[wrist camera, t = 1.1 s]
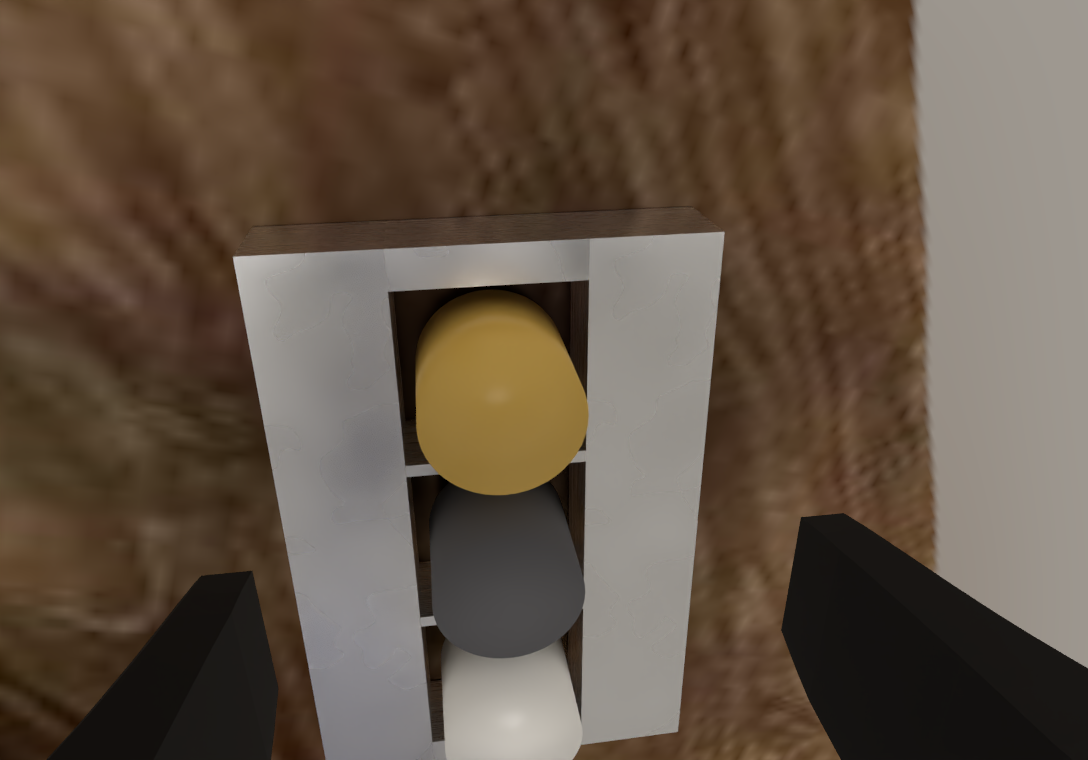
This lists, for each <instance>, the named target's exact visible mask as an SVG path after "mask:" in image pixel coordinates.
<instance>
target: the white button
mask: <svg viewBox="0 0 1088 760" xmlns="http://www.w3.org/2000/svg"><path fill="white" fill-rule="evenodd" d="M441 674H442V695H443V716H444V737H445V753H446V758H447V760H572V759H573V758H574V757H575V755H576V754H577V752H578V750H579V748H580V745H581V741H582V735H583V732H582V725H581V720H580V716H579V712H578V708H577V703H576V699H575V695H574V690H573V686H572V682H571V678H570V673H569V669H568V665H567V661H566V656H565V652H564V648H563V643H562V639H561V638H559V639H558V640H557V641H555V642H554V643H552V644H551V645H549V646H547V647H545V648H543V649H541V650H539V651H536V652H534V653H531V654H528V655H524V656H519V657H513V658H488V657H482V656H478V655H474V654H471V653H468V652H466V651H464V650H462V649H460V648H458V647H457V646H455V645H454V644H452V643H451V642H450V641H449V640H448V639H447V638H446V639H445V641H444V643H443V646H442V650H441Z"/></svg>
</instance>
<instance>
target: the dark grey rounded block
mask: <svg viewBox="0 0 1088 760" xmlns="http://www.w3.org/2000/svg"><path fill="white" fill-rule="evenodd" d="M429 531H430V558H431V584H432V609H433V615H434V619H435V621H436V624H437V626H438V628H439V629H440V631H441V632H442V634H443V635H444V636H445V637H446V638H447V639H448V640H449V641H450V642H451V643H452V644H454V645H455V646H457V647H458V648H460V649H462V650H464V651H466V652H468V653H471V654H474V655H478V656H482V657H488V658H513V657H519V656H524V655H528V654H531V653H534V652H536V651H539V650H541V649H543V648H545V647H547V646H549V645H551V644H552V643H554V642H555V641H557V640H558V639H559V638H561V637H562V636H563V635H564V634H565V633H566V632H567V631H568V630H569V629H570V628H571V627H572V626H573V624H574V623H575V622H576V620H577V618H578V617H579V615H580V612H581V610H582V608H583V604H584V600H585V583H584V579H583V575H582V572H581V568H580V565H579V562H578V558H577V555H576V551H575V548H574V545H573V541H572V538H571V534H570V531H569V528H568V524H567V521H566V518H565V514H564V511H563V507H562V504H561V501H560V498H559V496H558V493H557V492H556V490H555V488H554V487H553V486H552V485H551V483H550V482H549V481H548V482H546V483H544V484H542V485H540V486H538V487H535V488H533V489H530V490H528V491H524V492H520V493H516V494H509V495H485V494H480V493H474V492H471V491H468V490H465V489H462V488H460V487H458V486H456V485H454V484H452V483H451V482H449V483H448V484H447V485H446V486H445V487H444V488H443V489H442V490H441V492H440V493H439V495H438V496H437V497H436V499H435V501H434V503H433V506H432V509H431V512H430V518H429Z"/></svg>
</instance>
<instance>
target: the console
mask: <svg viewBox="0 0 1088 760" xmlns="http://www.w3.org/2000/svg"><path fill="white" fill-rule="evenodd" d="M724 233H725V232H724V231H723V230H722V229H720V228H719V227H718V226H716V225H715V224H714V223H713V222H711V221H710V220H709V219H707V218H706V217H705V216H703V215H702V214H701V213H700V212H698V211H697V210H696V209H694V208H693V207H672V208H650V209H628V210H607V211H585V212H563V213H542V214H520V215H498V216H476V217H455V218H433V219H411V220H390V221H368V222H346V223H324V224H303V225H281V226H259V227H252V228H251V230H250V231H249V233H248V234H247V236H246V237H245V239H244V240H243V242H242V243H241V245H240V246H239V248H238V250H237V251H236V253H235V254H234V256H233V260H234V266H235V271H236V277H237V282H238V288H239V293H240V298H241V304H242V309H243V315H244V320H245V325H246V331H247V336H248V342H249V347H250V352H251V358H252V363H253V369H254V374H255V379H256V385H257V390H258V396H259V401H260V406H261V412H262V417H263V423H264V428H265V434H266V439H267V444H268V450H269V455H270V461H271V466H272V471H273V477H274V482H275V488H276V493H277V498H278V504H279V509H280V515H281V520H282V525H283V531H284V536H285V542H286V547H287V552H288V558H289V563H290V569H291V574H292V580H293V585H294V590H295V596H296V601H297V607H298V612H299V617H300V623H301V628H302V634H303V639H304V644H305V650H306V655H307V661H308V666H309V671H310V677H311V682H312V688H313V693H314V698H315V704H316V709H317V715H318V720H319V726H320V731H321V736H322V742H323V747H324V753H325V758H326V760H447V758H446V753H445V737H444V716H443V695H442V680H437V681H430V671H429V661H428V650H427V640H426V630H425V626H432V625H437V624H436V621H435V619H434V615H433V609H432V584H431V561H426V562H419V556H418V546H417V535H416V525H415V514H414V504H413V494H412V483H411V477H415V476H426V475H438V473H437V471H436V470H435V469H434V468H433V467H432V466H431V465H430V463H429V462H428V460H427V459H426V458H425V456H424V454H423V452H422V450H421V447H420V444H419V441H418V436H417V430H416V419H411V420H405V410H404V399H403V389H402V378H401V368H400V358H399V347H398V337H397V326H396V316H395V305H394V295H393V291H409V290H427V289H444V288H461V287H479V286H496V285H514V284H531V283H548V282H566V281H570V359H571V361H572V363H573V366H574V368H575V370H576V373H577V375H578V377H579V380H580V382H581V384H582V386H583V389H584V392H585V395H586V398H587V403H588V412H589V418H588V427H587V431H586V435H585V438H584V440H583V443H582V445H581V447H580V449H579V451H578V453H577V454H576V456H575V457H574V458H573V460H572V461H571V462H570V463H569V531H570V534H571V538H572V541H573V545H574V548H575V551H576V555H577V558H578V562H579V565H580V568H581V572H582V575H583V579H584V583H585V600H584V604H583V608H582V610H581V612H580V615H579V617H578V618H577V620H576V622H575V623H574V624H573V626H572V627H571V628H570V629H569V630H568V669H569V673H570V678H571V682H572V686H573V690H574V695H575V699H576V703H577V708H578V712H579V716H580V720H581V725H582V732H583V735H582V741H581V745H583V744H591V743H598V742H605V741H613V740H620V739H628V738H635V737H643V736H650V735H657V734H665V733H672V732H678V725H679V714H680V703H681V693H682V682H683V671H684V661H685V650H686V639H687V629H688V618H689V607H690V596H691V586H692V575H693V564H694V554H695V543H696V532H697V522H698V511H699V500H700V489H701V479H702V468H703V457H704V447H705V436H706V425H707V415H708V404H709V393H710V382H711V372H712V361H713V350H714V340H715V329H716V318H717V308H718V297H719V286H720V275H721V265H722V254H723V243H724Z"/></svg>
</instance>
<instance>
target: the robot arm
mask: <svg viewBox="0 0 1088 760" xmlns="http://www.w3.org/2000/svg"><path fill="white" fill-rule="evenodd" d="M781 631H782V633H783V636H784V638H785V641H786V644H787V646H788V649H789V652H790V654H791V657H792V660H793V662H794V665H795V667H796V670H797V672H798V675H799V677H800V680H801V682H802V684H803V687H804V689H805V692H806V694H807V696H808V699H809V701H810V703H811V705H812V707H813V709H814V710H815V712H816V714H817V716H818V718H819V720H820V722H821V724H822V725H823V727H824V729H825V731H826V733H827V735H828V736H829V738H830V740H831V742H832V744H833V746H834V747H835V749H836V751H837V753H838V755H839V757H840V758H841V760H1088V668H1086V667H1084V666H1083V665H1081V664H1079V663H1078V662H1076V661H1074V660H1073V659H1071V658H1069V657H1067V656H1066V655H1064V654H1062V653H1061V652H1059V651H1057V650H1056V649H1054V648H1052V647H1050V646H1049V645H1047V644H1045V643H1044V642H1042V641H1040V640H1039V639H1037V638H1035V637H1034V636H1032V635H1030V634H1029V633H1027V632H1025V631H1024V630H1022V629H1021V628H1019V627H1017V626H1016V625H1014V624H1013V623H1011V622H1009V621H1008V620H1006V619H1005V618H1003V617H1001V616H1000V615H998V614H997V613H995V612H993V611H992V610H990V609H989V608H987V607H986V606H984V605H983V604H981V603H979V602H978V601H976V600H975V599H973V598H972V597H970V596H969V595H967V594H966V593H964V592H962V591H961V590H959V589H958V588H957V587H955V586H953V585H952V584H951V583H949V582H947V581H946V580H944V579H943V578H942V577H940V576H939V575H937V574H936V573H934V572H933V571H931V570H930V569H928V568H927V567H925V566H924V565H922V564H921V563H919V562H918V561H916V560H915V559H913V558H912V557H910V556H909V555H907V554H906V553H904V552H903V551H901V550H900V549H898V548H897V547H895V546H894V545H892V544H891V543H889V542H888V541H886V540H885V539H883V538H882V537H880V536H879V535H877V534H876V533H874V532H873V531H871V530H870V529H868V528H867V527H865V526H864V525H862V524H860V523H859V522H857V521H856V520H854V519H852V518H851V517H849V516H847V515H846V514H844V513H841V514H831V515H821V516H811V517H801V521H800V526H799V532H798V538H797V544H796V549H795V555H794V561H793V566H792V572H791V578H790V584H789V589H788V595H787V601H786V607H785V612H784V618H783V624H782V629H781ZM277 697H278V684H277V680H276V676H275V671H274V667H273V662H272V658H271V653H270V649H269V644H268V640H267V635H266V631H265V626H264V622H263V617H262V613H261V608H260V604H259V599H258V595H257V590H256V586H255V582H254V577H253V573H252V571H246V572H236V573H226V574H215V575H205V576H201V577H200V578H199V579H198V580H197V581H196V582H195V583H194V584H193V586H192V587H191V588H190V589H189V591H188V592H187V593H186V594H185V595H184V597H183V598H182V599H181V601H180V602H179V603H178V604H177V606H176V607H175V608H174V609H173V611H172V612H171V613H170V614H169V616H168V617H167V618H166V619H165V621H164V622H163V623H162V625H161V626H160V627H159V628H158V630H157V631H156V632H155V633H154V635H153V636H152V637H151V638H150V640H149V641H148V642H147V643H146V645H145V646H144V647H143V648H142V649H141V651H140V652H139V653H138V654H137V656H136V657H135V658H134V659H133V661H132V662H131V663H130V664H129V666H128V667H127V668H126V669H125V670H124V672H123V673H122V674H121V675H120V676H119V677H118V679H117V680H116V681H115V682H114V683H113V685H112V686H111V687H110V688H109V689H108V690H107V692H106V693H105V694H104V695H103V696H102V698H101V699H100V700H99V701H98V702H97V703H96V705H95V706H94V707H93V708H92V709H91V711H90V712H89V713H88V714H87V715H86V716H85V718H84V719H83V720H82V721H81V722H80V723H79V725H78V726H77V727H76V728H75V729H74V730H73V731H72V732H71V734H70V735H69V736H68V737H67V738H66V739H65V740H64V741H63V742H62V743H61V744H60V745H59V747H58V748H57V749H56V750H55V751H54V752H53V753H52V754H51V755H50V756H49V757H48V759H47V760H271V754H272V745H273V737H274V727H275V717H276V707H277Z"/></svg>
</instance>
